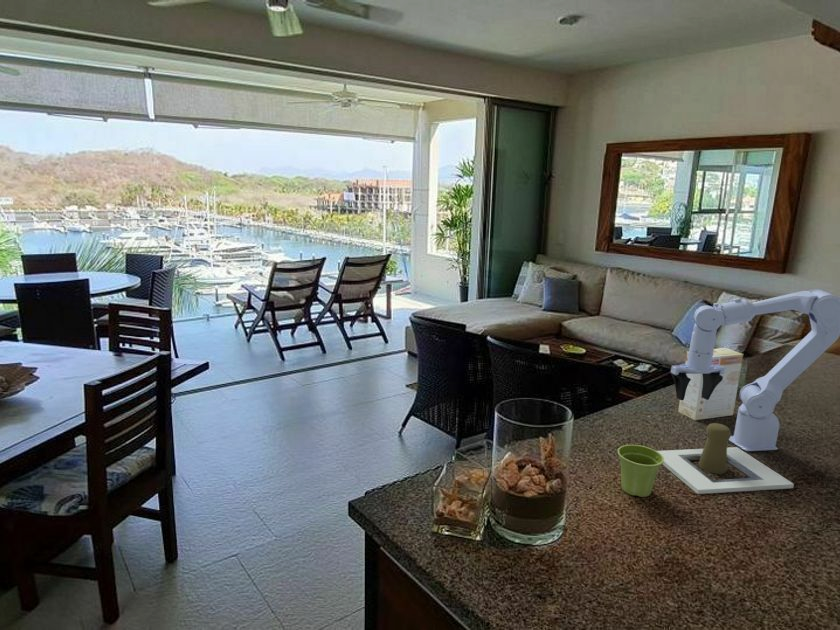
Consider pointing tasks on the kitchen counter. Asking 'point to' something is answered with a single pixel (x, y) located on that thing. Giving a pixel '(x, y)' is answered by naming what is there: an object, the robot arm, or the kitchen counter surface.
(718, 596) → the kitchen counter surface
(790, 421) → the kitchen counter surface
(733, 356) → the coffeecake box
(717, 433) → the cork
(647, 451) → the plant pot
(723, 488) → the white picture frame
